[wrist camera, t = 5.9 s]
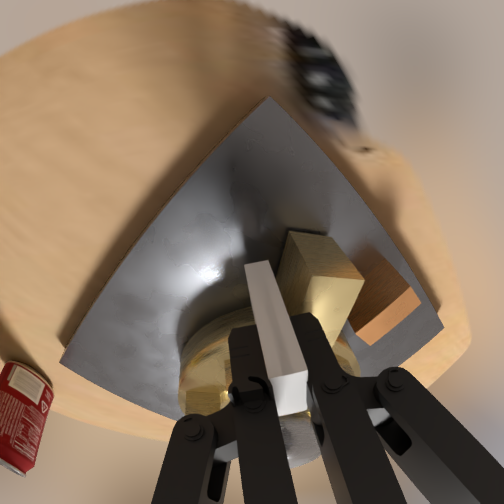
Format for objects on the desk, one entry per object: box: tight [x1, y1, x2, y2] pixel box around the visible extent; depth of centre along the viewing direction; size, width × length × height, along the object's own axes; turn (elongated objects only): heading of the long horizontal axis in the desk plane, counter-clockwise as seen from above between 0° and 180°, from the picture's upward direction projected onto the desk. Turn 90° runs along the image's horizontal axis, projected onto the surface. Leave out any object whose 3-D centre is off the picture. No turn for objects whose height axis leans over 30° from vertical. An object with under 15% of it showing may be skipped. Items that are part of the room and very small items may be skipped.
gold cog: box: [178, 231, 365, 416], centre depth 16 cm, size 16×12×5 cm
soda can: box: [0, 361, 54, 477], centre depth 16 cm, size 7×7×12 cm
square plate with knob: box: [59, 96, 444, 468], centre depth 16 cm, size 24×24×9 cm
